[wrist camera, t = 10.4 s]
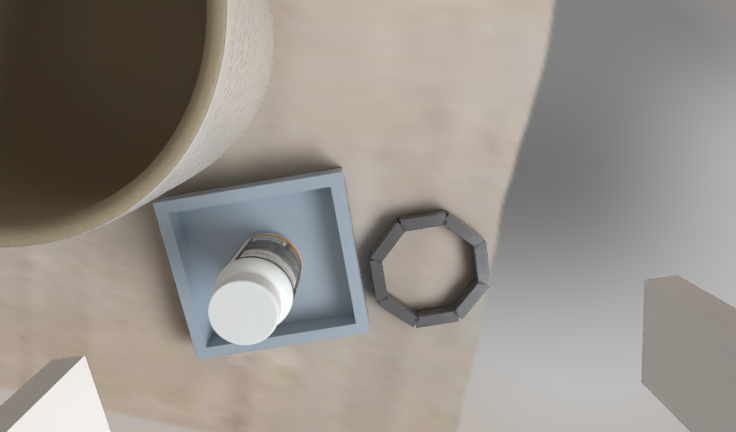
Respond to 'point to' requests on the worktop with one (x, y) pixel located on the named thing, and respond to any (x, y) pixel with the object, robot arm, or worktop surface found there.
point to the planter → (119, 104)
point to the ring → (435, 314)
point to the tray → (278, 216)
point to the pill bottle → (255, 289)
